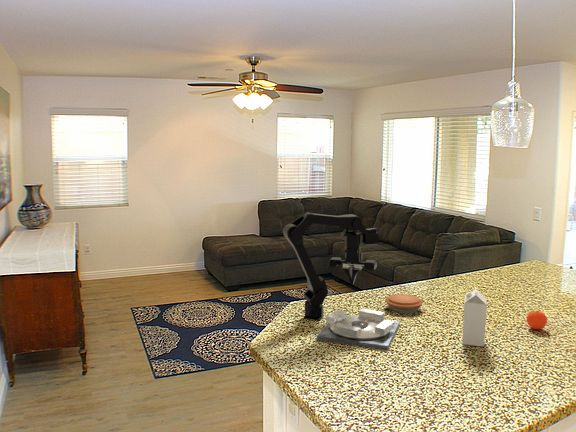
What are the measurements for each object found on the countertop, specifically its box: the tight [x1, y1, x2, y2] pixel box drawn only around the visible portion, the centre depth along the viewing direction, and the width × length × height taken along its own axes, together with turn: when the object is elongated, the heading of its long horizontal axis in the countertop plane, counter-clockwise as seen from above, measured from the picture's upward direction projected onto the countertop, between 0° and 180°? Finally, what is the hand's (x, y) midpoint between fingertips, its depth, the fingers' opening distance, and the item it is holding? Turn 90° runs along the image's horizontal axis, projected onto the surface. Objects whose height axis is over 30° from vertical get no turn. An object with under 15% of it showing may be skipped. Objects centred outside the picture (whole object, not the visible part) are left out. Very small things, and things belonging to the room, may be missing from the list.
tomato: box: [524, 309, 548, 330], centre depth 195 cm, size 8×7×7 cm
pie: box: [384, 293, 424, 314], centre depth 218 cm, size 15×16×5 cm
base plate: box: [316, 314, 401, 351], centre depth 191 cm, size 25×25×2 cm
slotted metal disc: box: [325, 307, 396, 340], centre depth 191 cm, size 23×23×4 cm
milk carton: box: [461, 288, 488, 348], centre depth 181 cm, size 7×7×19 cm
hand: (352, 284), depth 211 cm, fingers closed
